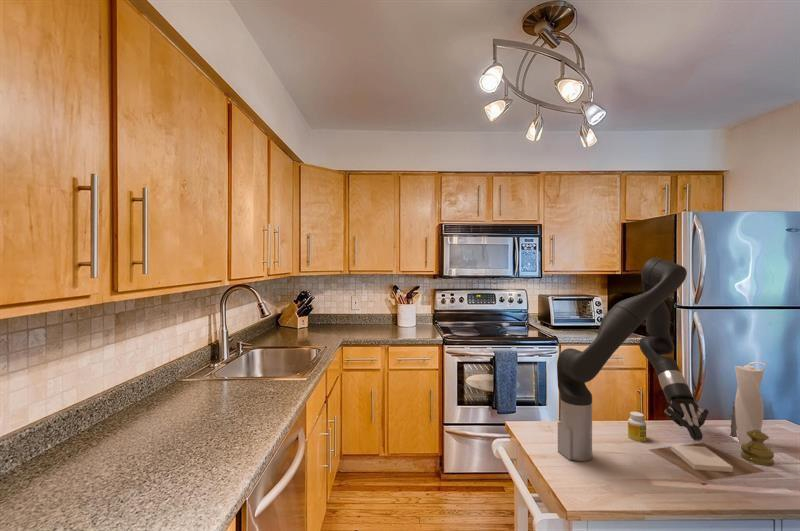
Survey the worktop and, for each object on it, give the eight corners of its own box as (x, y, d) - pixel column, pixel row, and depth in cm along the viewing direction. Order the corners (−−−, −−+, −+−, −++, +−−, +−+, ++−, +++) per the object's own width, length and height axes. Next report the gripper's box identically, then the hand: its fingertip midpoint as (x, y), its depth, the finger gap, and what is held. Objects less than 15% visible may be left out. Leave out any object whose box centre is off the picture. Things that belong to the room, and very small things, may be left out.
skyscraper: (761, 442, 131) (762, 360, 131) (768, 452, 124) (768, 365, 124) (729, 436, 136) (730, 357, 136) (734, 445, 129) (734, 362, 129)
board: (703, 484, 106) (703, 480, 106) (648, 453, 123) (648, 449, 123) (765, 475, 110) (765, 471, 110) (703, 446, 128) (703, 442, 128)
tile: (671, 449, 123) (694, 469, 111) (671, 445, 123) (694, 464, 111) (705, 451, 122) (732, 472, 110) (705, 446, 122) (732, 466, 110)
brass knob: (777, 472, 112) (777, 438, 112) (743, 465, 116) (744, 432, 116) (770, 461, 118) (770, 429, 118) (738, 455, 122) (738, 423, 122)
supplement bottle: (632, 436, 135) (632, 409, 135) (649, 442, 130) (649, 414, 130) (624, 440, 132) (624, 412, 132) (641, 447, 127) (641, 418, 127)
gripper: (691, 393, 132) (715, 445, 120) (649, 391, 133) (670, 443, 121) (701, 382, 126) (728, 436, 114) (658, 381, 128) (680, 434, 116)
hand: (698, 439), depth 118 cm, fingers closed
